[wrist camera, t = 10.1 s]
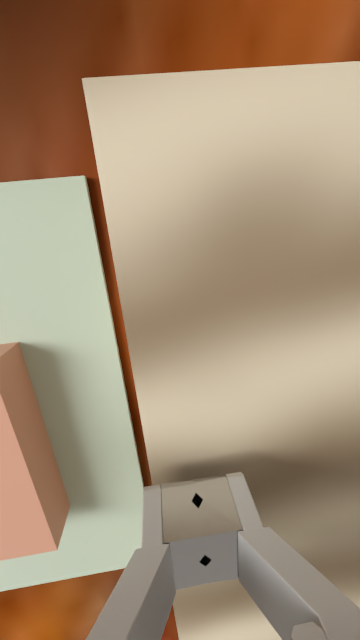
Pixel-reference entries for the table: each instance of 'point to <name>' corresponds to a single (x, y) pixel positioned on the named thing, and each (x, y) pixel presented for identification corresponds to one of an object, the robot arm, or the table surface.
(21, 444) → the pink rectangular block
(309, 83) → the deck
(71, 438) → the mat
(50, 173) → the table surface
